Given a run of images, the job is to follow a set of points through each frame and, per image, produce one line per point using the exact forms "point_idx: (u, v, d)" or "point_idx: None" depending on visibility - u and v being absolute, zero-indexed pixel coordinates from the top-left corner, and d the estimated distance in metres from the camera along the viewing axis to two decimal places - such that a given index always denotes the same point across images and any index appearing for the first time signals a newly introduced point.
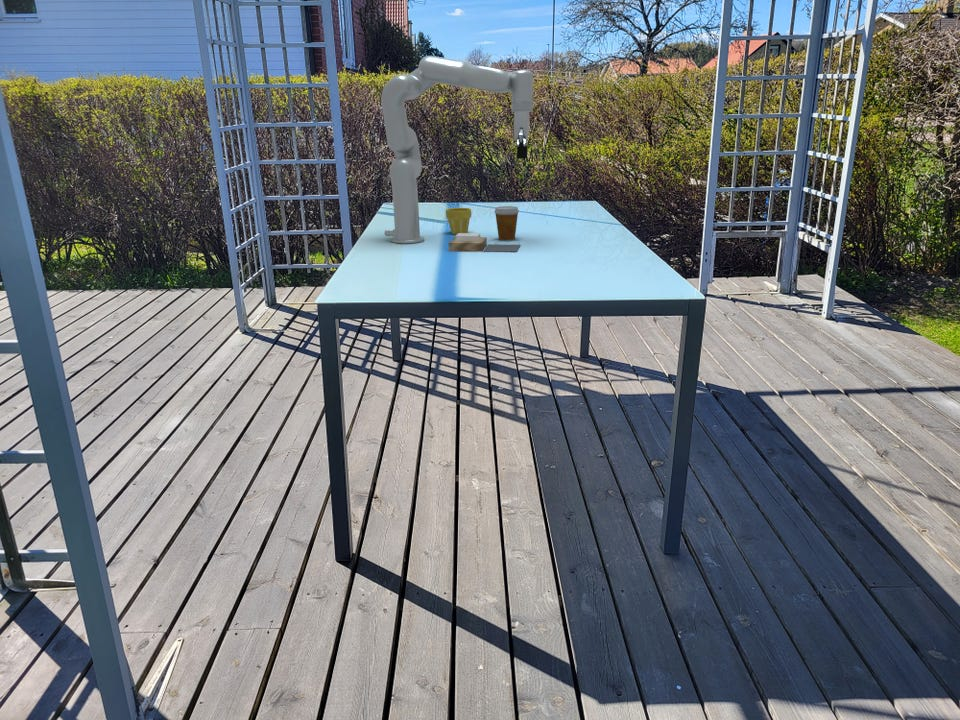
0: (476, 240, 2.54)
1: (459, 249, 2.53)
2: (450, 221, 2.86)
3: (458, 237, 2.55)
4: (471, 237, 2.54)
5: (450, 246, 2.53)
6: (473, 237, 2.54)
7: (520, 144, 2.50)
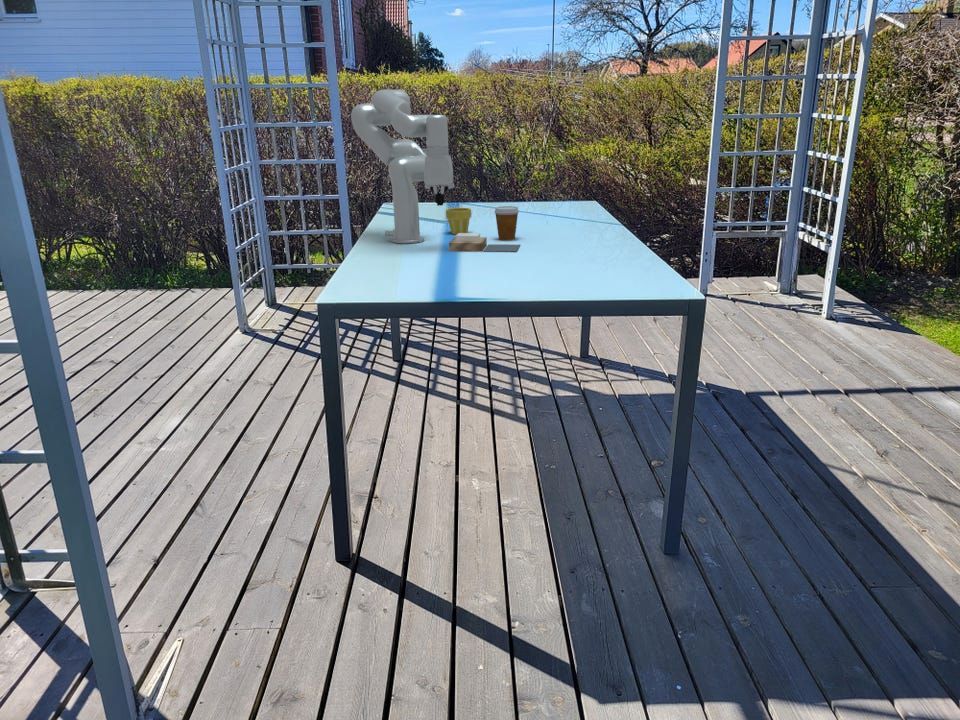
0: (476, 240, 2.54)
1: (459, 249, 2.53)
2: (450, 221, 2.86)
3: (458, 237, 2.55)
4: (471, 237, 2.54)
5: (450, 246, 2.53)
6: (473, 237, 2.54)
7: (445, 191, 2.52)
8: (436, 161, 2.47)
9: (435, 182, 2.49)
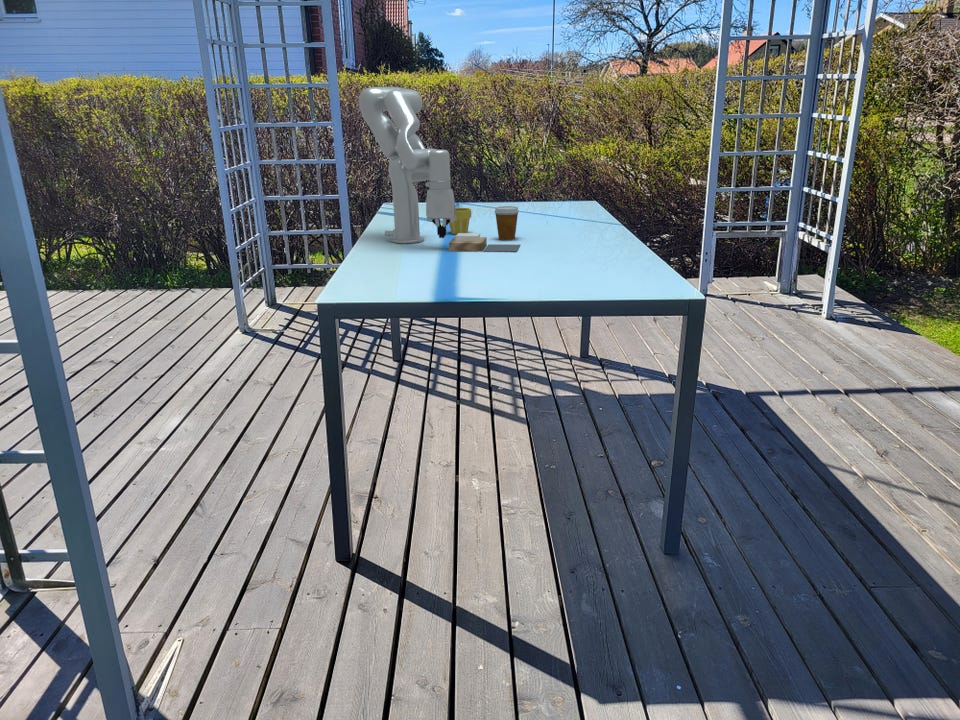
0: (476, 240, 2.54)
1: (459, 249, 2.53)
2: None
3: (458, 237, 2.55)
4: (471, 237, 2.54)
5: (450, 246, 2.53)
6: (473, 237, 2.54)
7: None
8: (438, 195, 2.51)
9: (437, 215, 2.53)
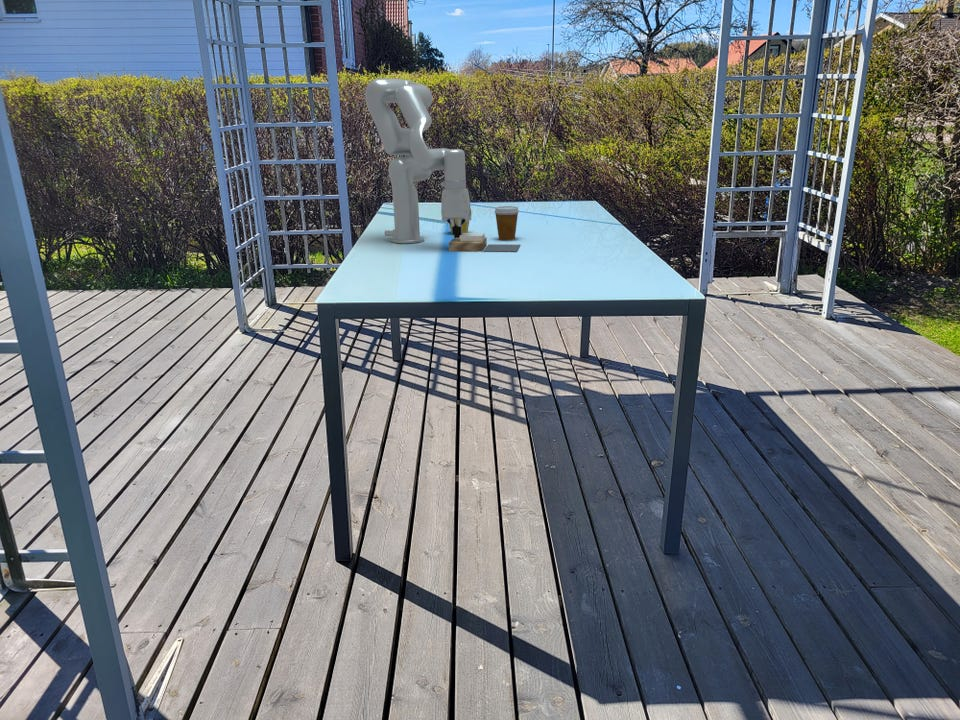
0: (481, 240, 2.54)
1: (459, 249, 2.53)
2: None
3: (462, 237, 2.54)
4: (476, 237, 2.54)
5: (450, 246, 2.53)
6: (478, 237, 2.54)
7: (462, 223, 2.55)
8: (454, 195, 2.50)
9: (452, 215, 2.52)
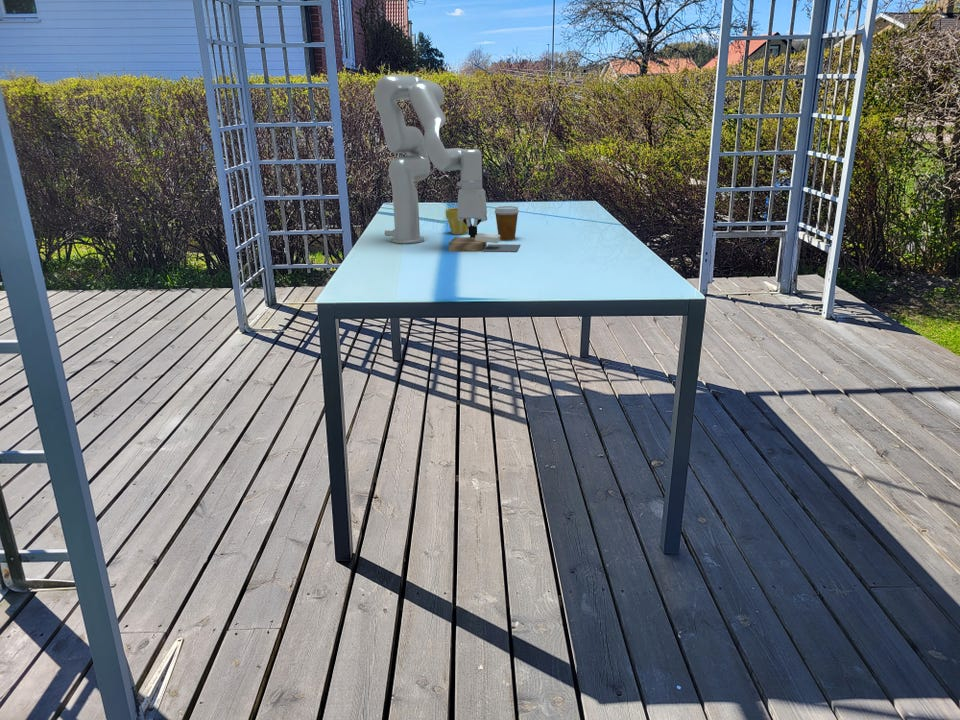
0: (495, 242, 2.52)
1: (459, 249, 2.53)
2: (450, 221, 2.86)
3: (478, 237, 2.53)
4: (491, 238, 2.52)
5: (450, 246, 2.53)
6: (493, 238, 2.52)
7: None
8: (470, 195, 2.49)
9: (468, 215, 2.51)
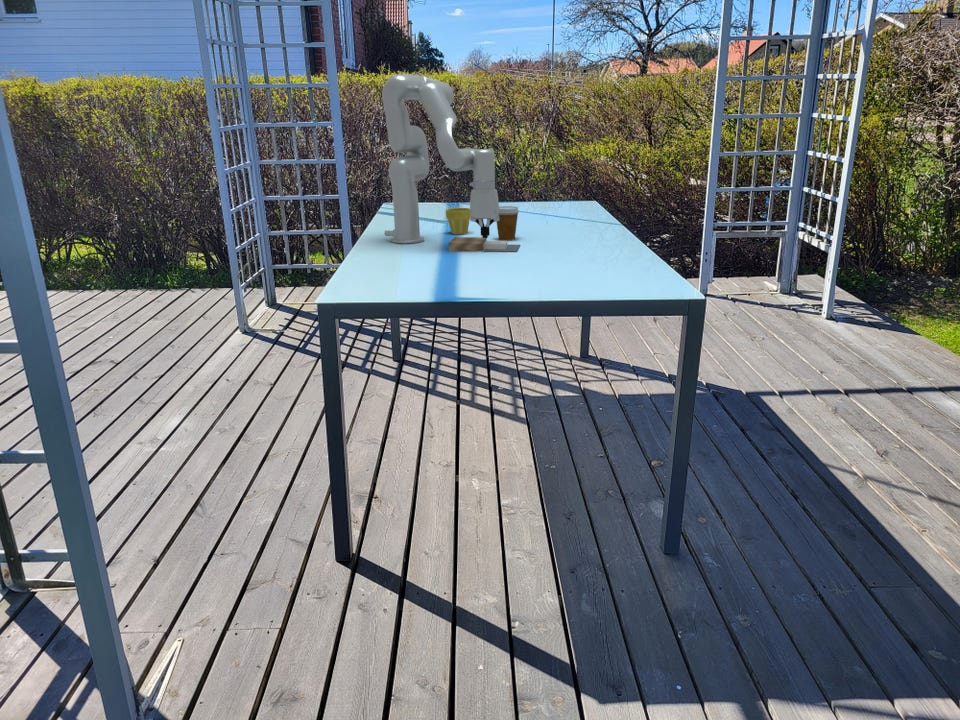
0: (504, 248, 2.53)
1: (459, 249, 2.53)
2: (450, 221, 2.86)
3: (486, 245, 2.54)
4: (499, 245, 2.53)
5: (450, 246, 2.53)
6: (501, 245, 2.53)
7: None
8: (483, 195, 2.48)
9: (481, 215, 2.51)
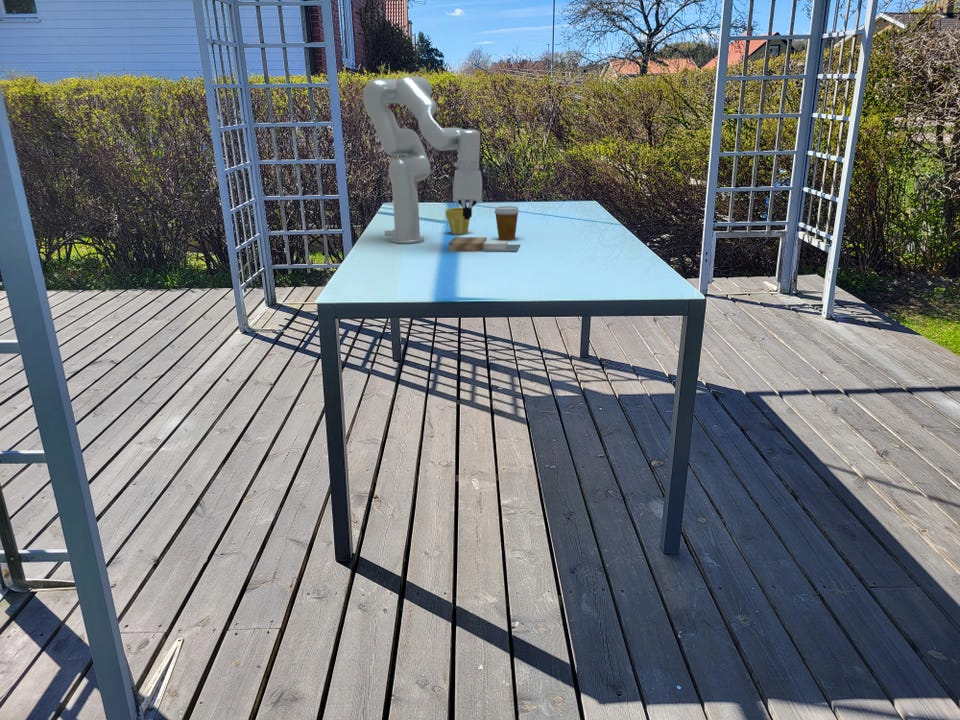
0: (504, 248, 2.53)
1: (459, 249, 2.53)
2: (450, 221, 2.86)
3: (486, 245, 2.54)
4: (499, 245, 2.53)
5: (450, 246, 2.53)
6: (501, 245, 2.53)
7: (473, 205, 2.53)
8: (466, 176, 2.47)
9: (464, 196, 2.50)
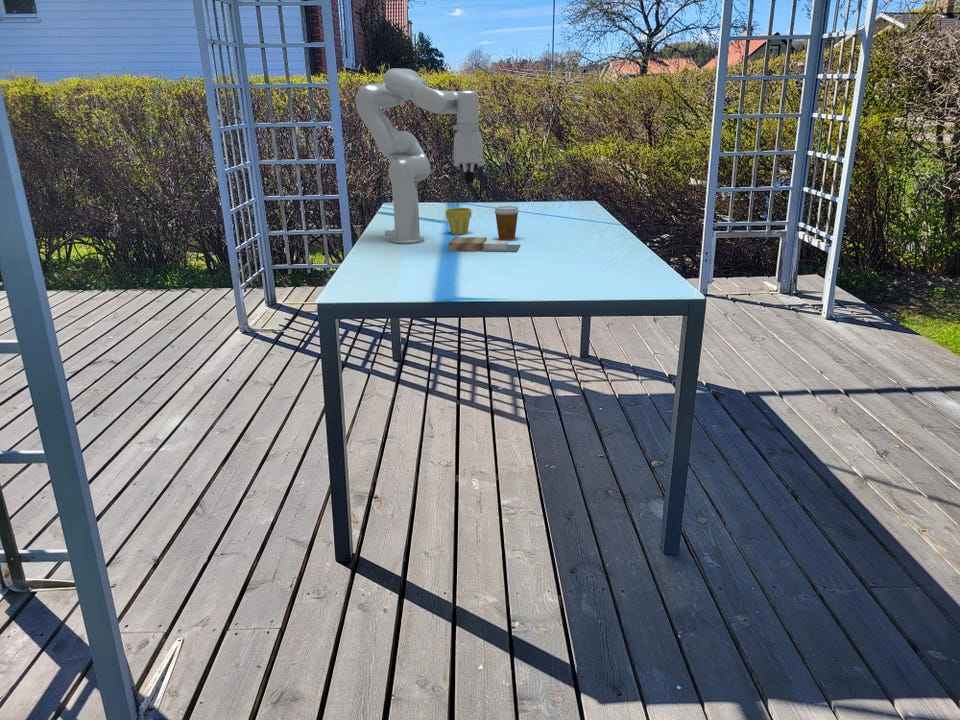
0: (504, 248, 2.53)
1: (459, 249, 2.53)
2: (450, 221, 2.86)
3: (486, 245, 2.54)
4: (499, 245, 2.53)
5: (450, 246, 2.53)
6: (501, 245, 2.53)
7: None
8: (467, 138, 2.43)
9: (465, 159, 2.45)
